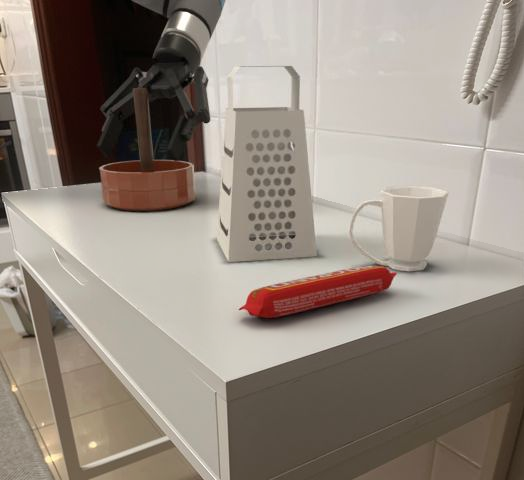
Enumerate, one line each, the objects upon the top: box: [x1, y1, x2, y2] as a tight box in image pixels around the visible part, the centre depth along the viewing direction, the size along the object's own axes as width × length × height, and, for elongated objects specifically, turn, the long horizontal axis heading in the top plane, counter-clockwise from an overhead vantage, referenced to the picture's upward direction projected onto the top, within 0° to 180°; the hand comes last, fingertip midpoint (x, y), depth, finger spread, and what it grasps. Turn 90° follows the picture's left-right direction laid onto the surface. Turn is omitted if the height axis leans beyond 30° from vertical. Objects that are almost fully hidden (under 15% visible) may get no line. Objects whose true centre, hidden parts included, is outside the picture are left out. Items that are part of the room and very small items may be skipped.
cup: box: [348, 185, 449, 272], centre depth 60 cm, size 7×10×8 cm
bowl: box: [98, 159, 196, 212], centre depth 93 cm, size 15×15×6 cm
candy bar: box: [238, 265, 398, 319], centre depth 51 cm, size 16×4×3 cm, turn 121°
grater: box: [216, 65, 318, 263], centre depth 65 cm, size 10×10×20 cm
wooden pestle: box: [133, 87, 155, 172], centre depth 91 cm, size 4×4×17 cm
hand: (136, 153), depth 89 cm, fingers open, 13 cm apart
